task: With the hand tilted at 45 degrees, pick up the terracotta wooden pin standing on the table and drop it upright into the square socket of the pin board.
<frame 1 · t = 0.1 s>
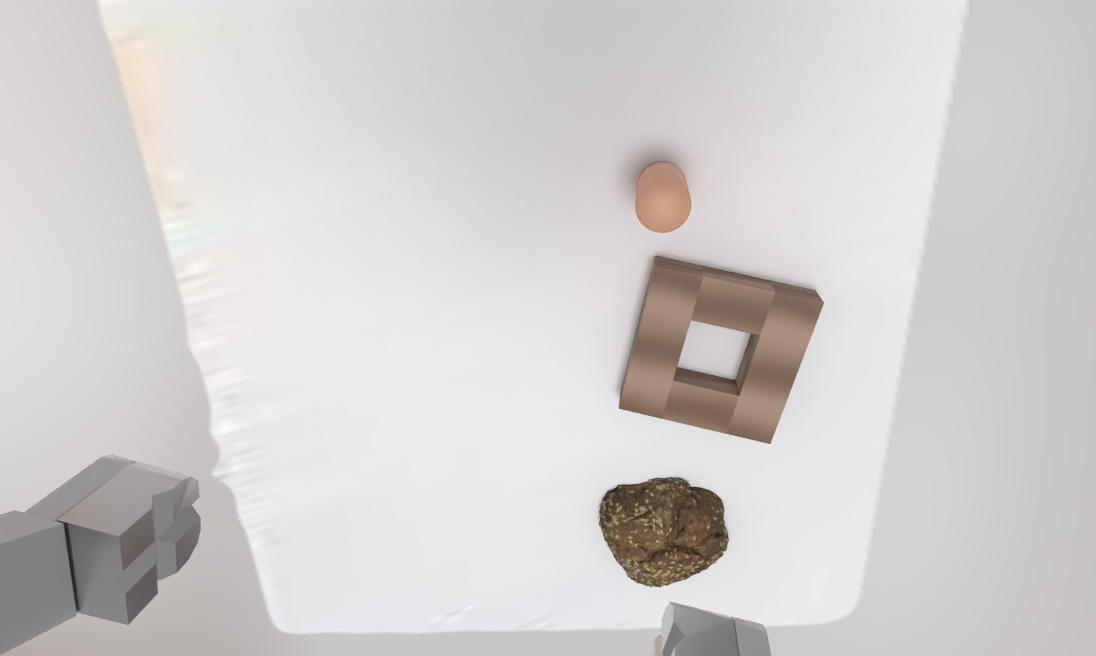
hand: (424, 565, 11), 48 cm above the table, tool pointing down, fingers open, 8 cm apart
pin board: (712, 344, 60), on the table
pin: (661, 186, 55), on the table
bread roll: (665, 522, 68), on the table
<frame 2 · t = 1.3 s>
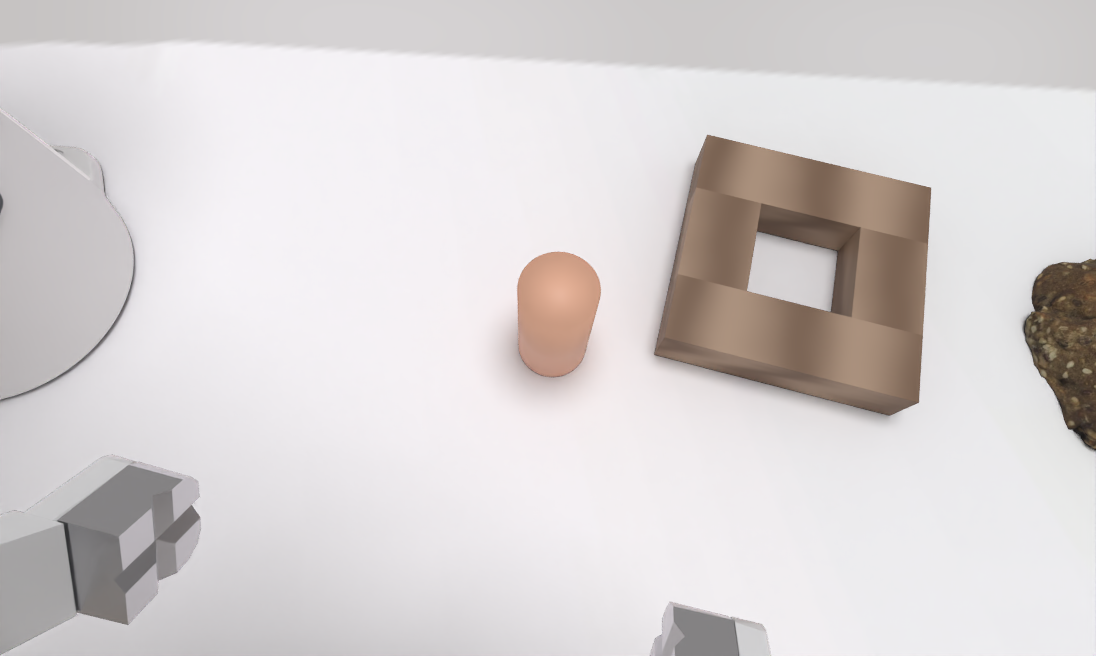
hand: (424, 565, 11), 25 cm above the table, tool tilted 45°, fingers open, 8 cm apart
pin board: (785, 280, 41), on the table
pin: (552, 344, 39), on the table
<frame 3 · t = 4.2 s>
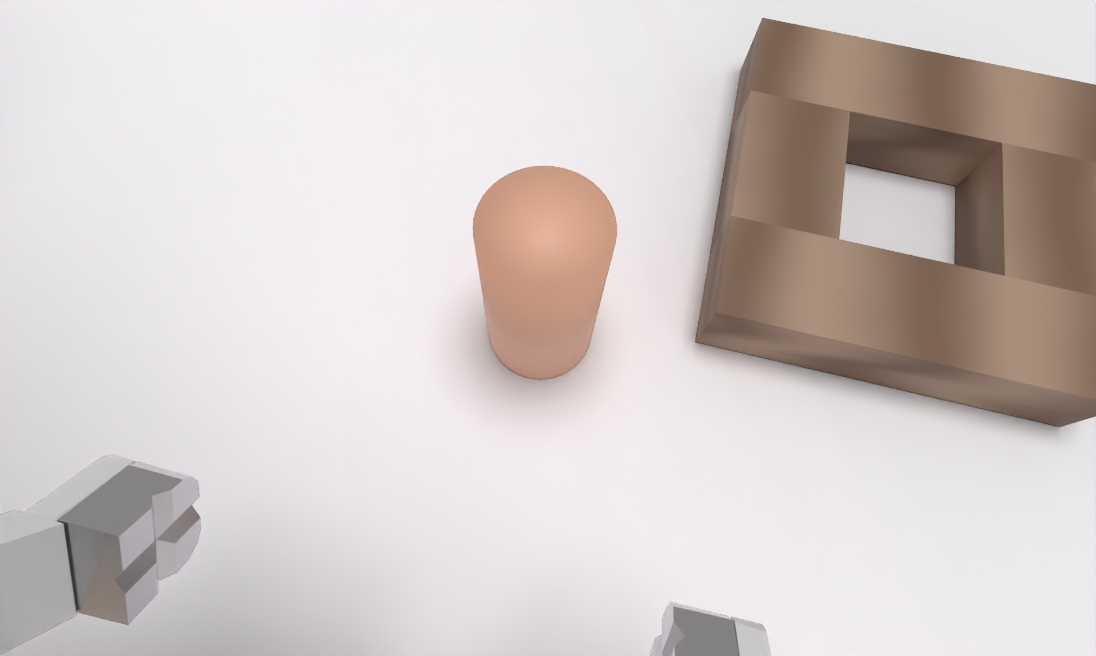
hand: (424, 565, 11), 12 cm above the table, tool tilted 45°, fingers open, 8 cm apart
pin board: (883, 229, 28), on the table
pin: (540, 330, 26), on the table
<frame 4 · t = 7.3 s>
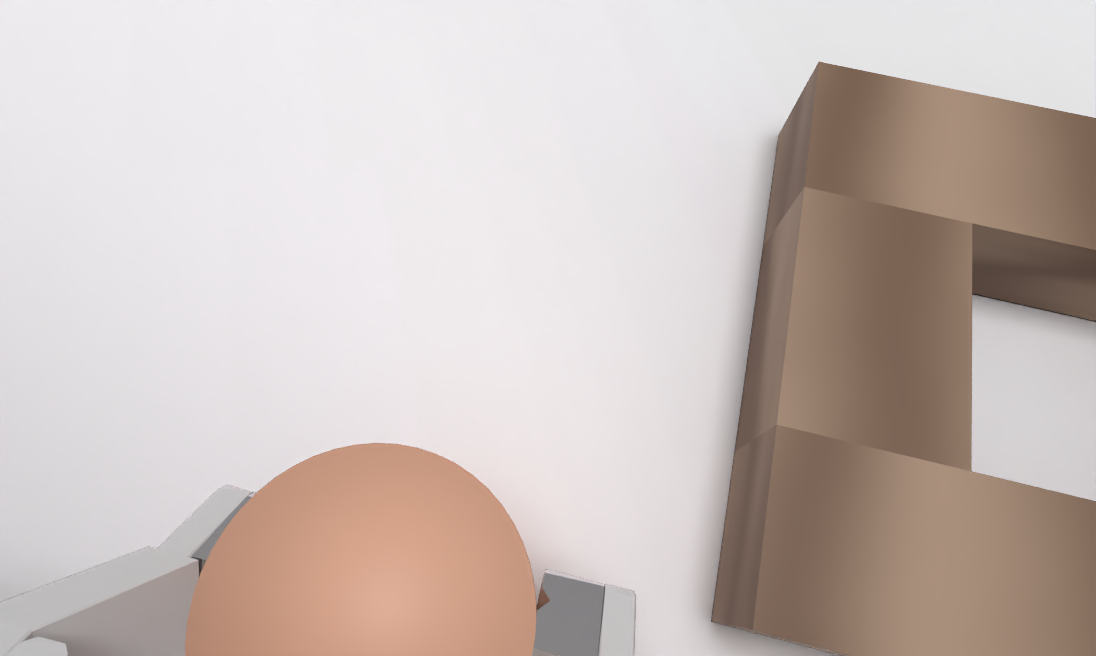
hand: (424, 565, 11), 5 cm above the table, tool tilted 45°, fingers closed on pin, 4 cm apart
pin board: (1016, 405, 17), on the table
pin: (446, 600, 15), on the table, touching gripper
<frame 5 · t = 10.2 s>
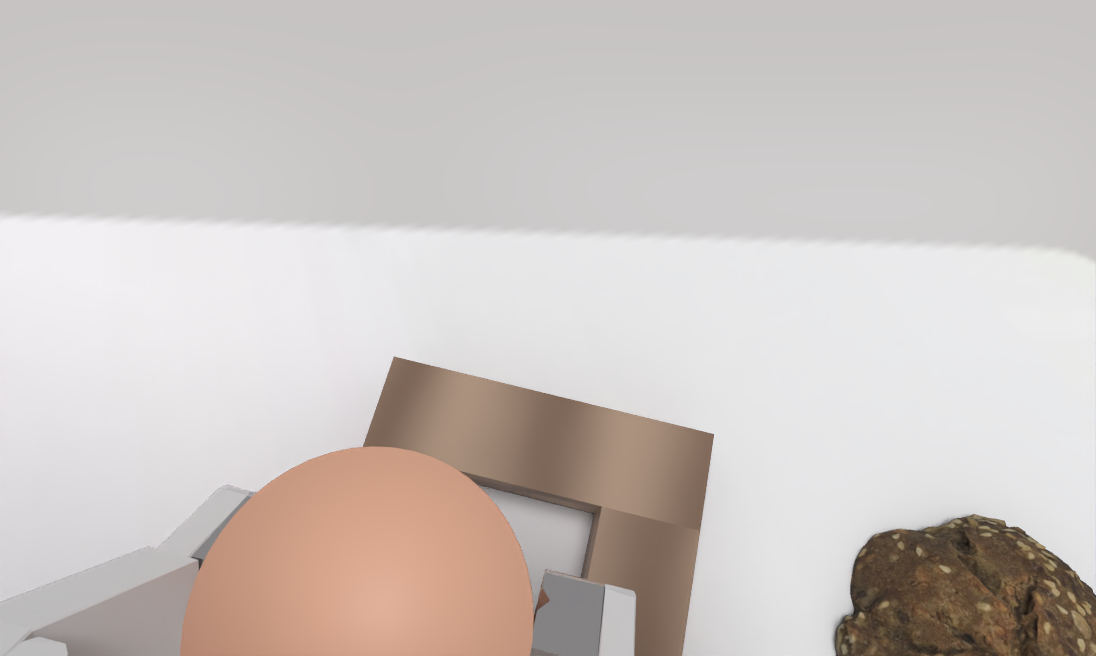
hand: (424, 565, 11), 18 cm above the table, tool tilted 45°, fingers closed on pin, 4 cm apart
pin board: (511, 566, 28), on the table
pin: (444, 602, 15), point 14 cm above the table, touching gripper
when the fingers open (7 cm above the table, at t = 13.2 s): pin drops 2 cm, resting in pin board.
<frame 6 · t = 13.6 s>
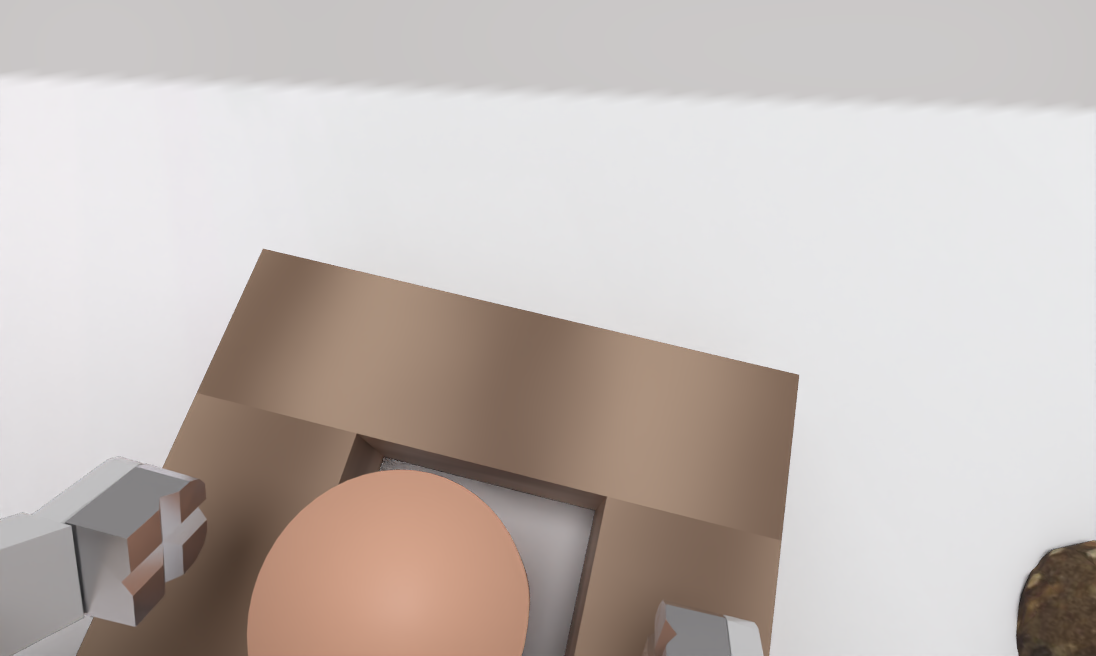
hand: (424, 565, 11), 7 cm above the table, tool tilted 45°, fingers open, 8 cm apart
pin board: (456, 598, 17), on the table
pin: (452, 599, 17), resting in pin board
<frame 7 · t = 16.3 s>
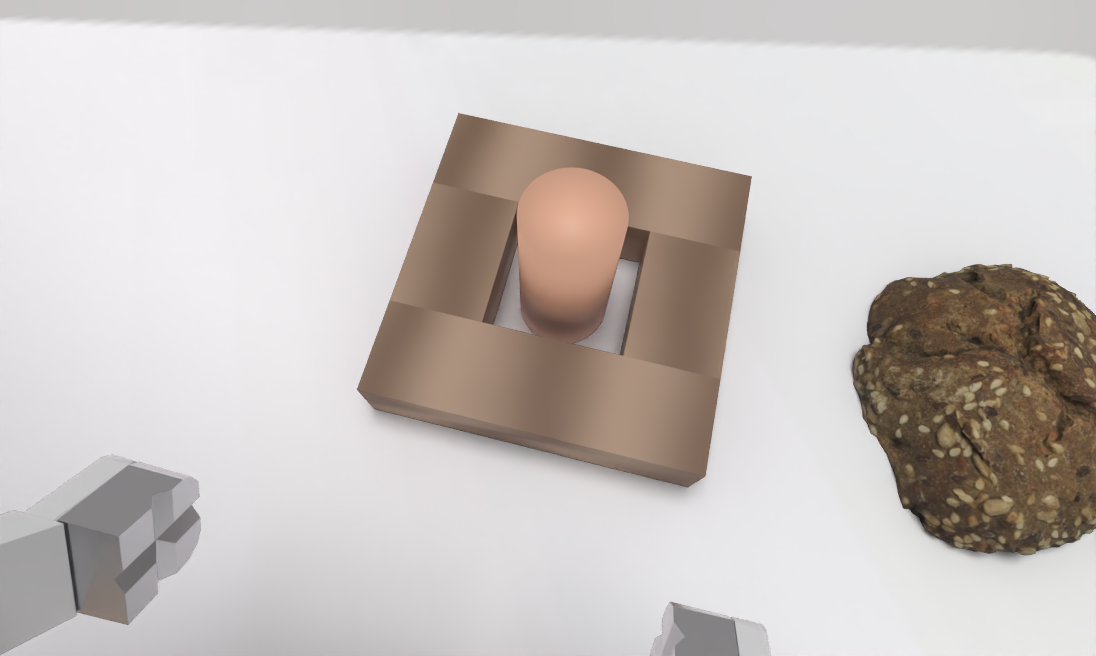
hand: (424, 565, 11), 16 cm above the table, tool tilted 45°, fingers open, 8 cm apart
pin board: (565, 303, 31), on the table
pin: (563, 304, 31), resting in pin board
bread roll: (980, 400, 30), on the table
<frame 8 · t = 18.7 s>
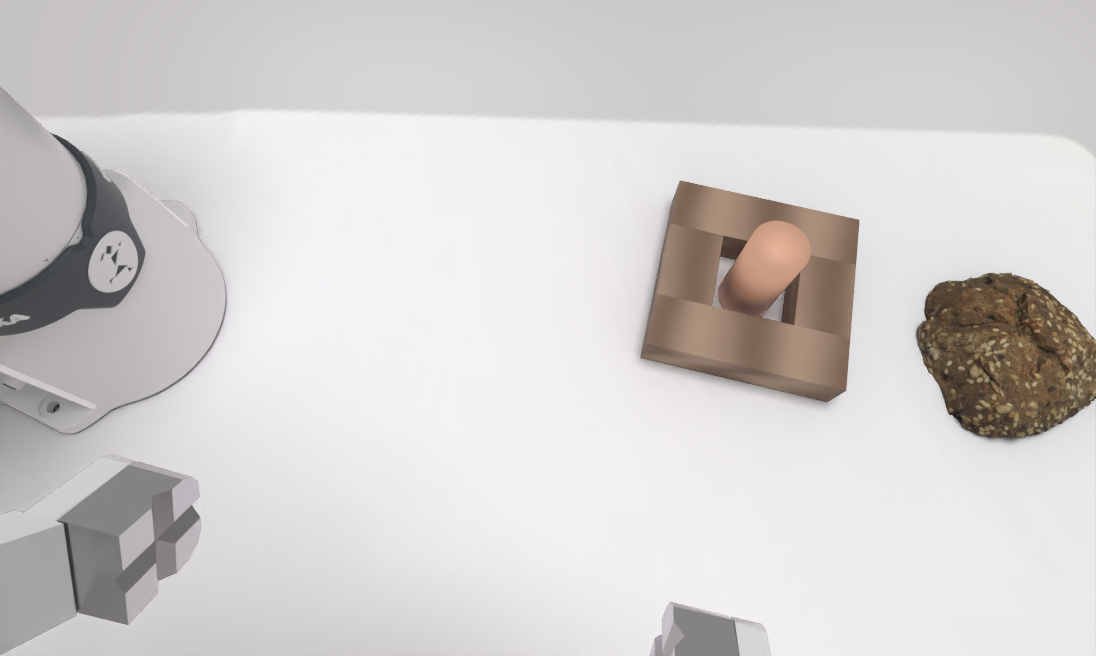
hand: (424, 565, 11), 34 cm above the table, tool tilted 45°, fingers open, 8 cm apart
pin board: (745, 295, 51), on the table
pin: (743, 296, 51), resting in pin board
bread roll: (992, 354, 50), on the table
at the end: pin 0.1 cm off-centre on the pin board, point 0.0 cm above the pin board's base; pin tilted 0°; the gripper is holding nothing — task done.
